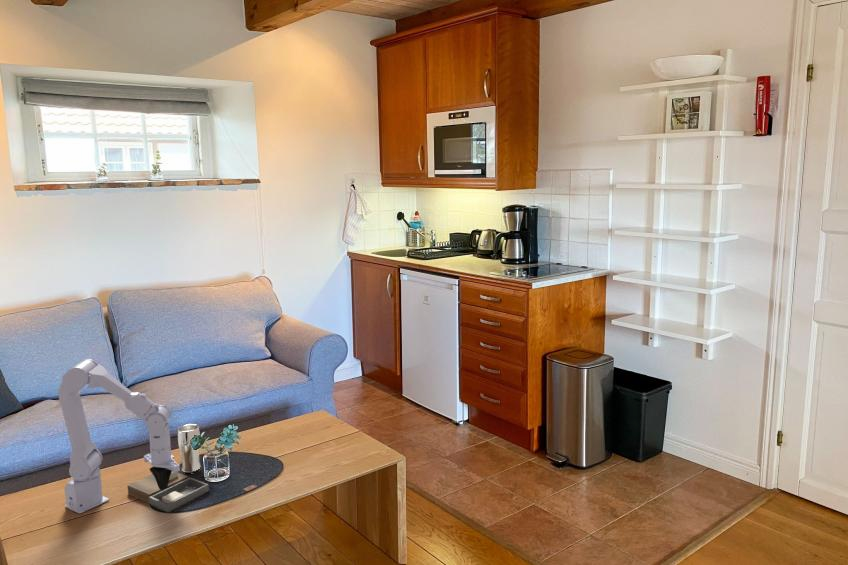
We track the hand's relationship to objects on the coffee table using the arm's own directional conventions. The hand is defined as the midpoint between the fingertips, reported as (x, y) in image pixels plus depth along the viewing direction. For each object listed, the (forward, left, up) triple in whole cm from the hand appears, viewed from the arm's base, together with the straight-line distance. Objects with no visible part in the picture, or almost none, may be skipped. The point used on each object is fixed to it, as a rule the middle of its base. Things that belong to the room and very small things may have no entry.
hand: (163, 488), depth 199 cm
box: (+3, -3, -4) cm, 6 cm away
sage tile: (+6, +6, -1) cm, 9 cm away
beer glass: (+17, +9, -4) cm, 20 cm away
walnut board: (+3, +7, -4) cm, 8 cm away
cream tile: (0, -5, -1) cm, 5 cm away
